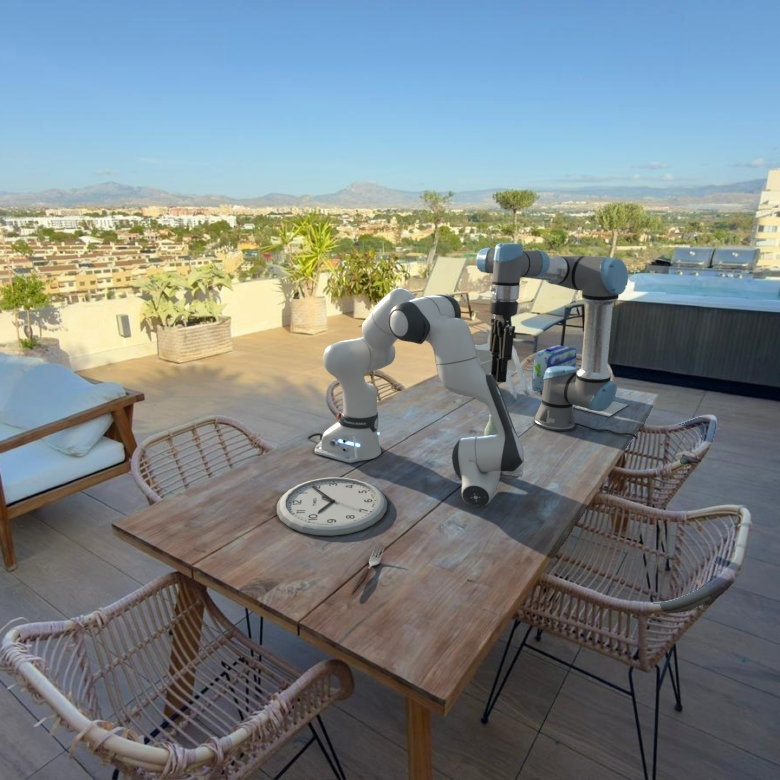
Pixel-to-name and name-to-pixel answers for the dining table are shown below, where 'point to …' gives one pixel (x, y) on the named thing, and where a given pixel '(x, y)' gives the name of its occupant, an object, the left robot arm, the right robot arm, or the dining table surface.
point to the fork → (372, 562)
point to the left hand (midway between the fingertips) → (492, 453)
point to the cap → (494, 375)
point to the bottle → (490, 427)
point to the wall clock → (331, 506)
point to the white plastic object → (486, 360)
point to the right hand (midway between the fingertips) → (498, 379)
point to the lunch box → (551, 363)
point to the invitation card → (609, 411)
